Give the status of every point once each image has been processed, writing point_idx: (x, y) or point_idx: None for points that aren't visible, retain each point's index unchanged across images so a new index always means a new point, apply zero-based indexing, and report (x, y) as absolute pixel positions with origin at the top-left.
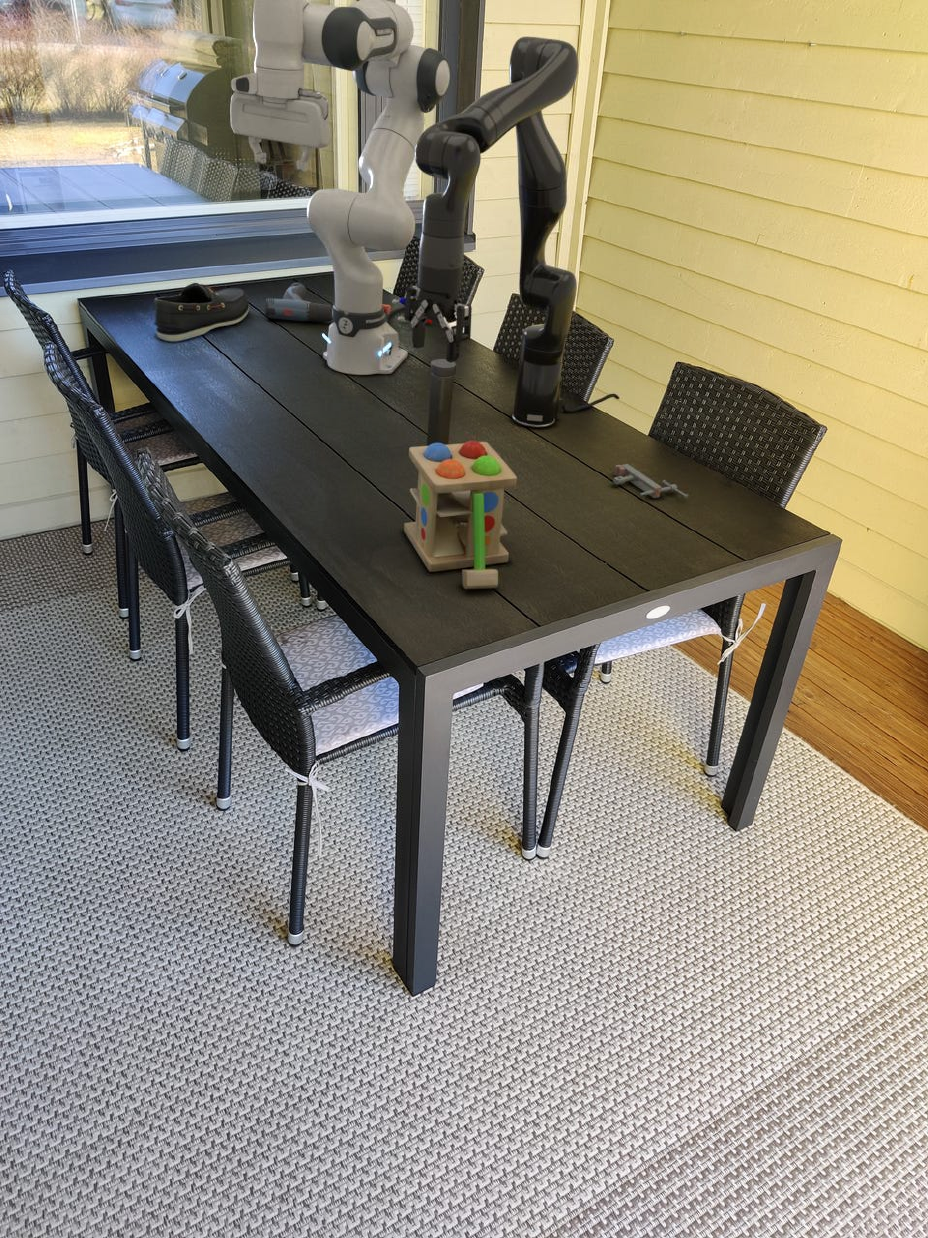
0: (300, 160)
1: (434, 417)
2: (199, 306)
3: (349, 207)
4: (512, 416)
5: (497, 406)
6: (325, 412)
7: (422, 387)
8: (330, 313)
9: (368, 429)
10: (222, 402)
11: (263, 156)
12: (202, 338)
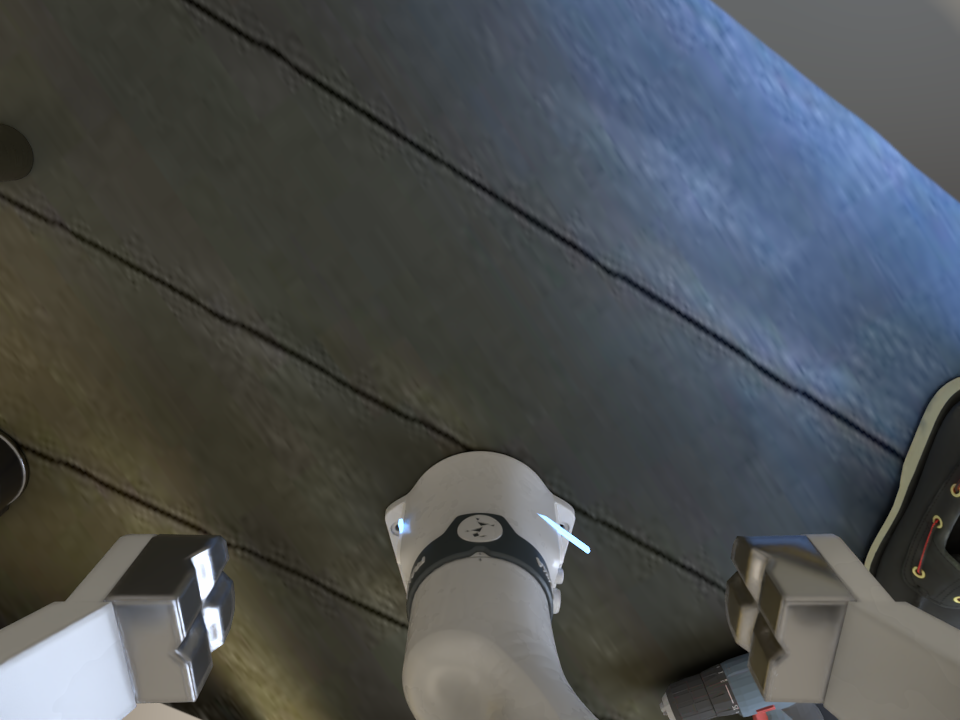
0: (96, 606)
1: None
2: (956, 495)
3: None
4: (16, 447)
5: (88, 486)
6: (372, 218)
7: (282, 485)
8: (671, 698)
9: (226, 189)
10: (624, 110)
11: (760, 626)
12: (894, 444)
